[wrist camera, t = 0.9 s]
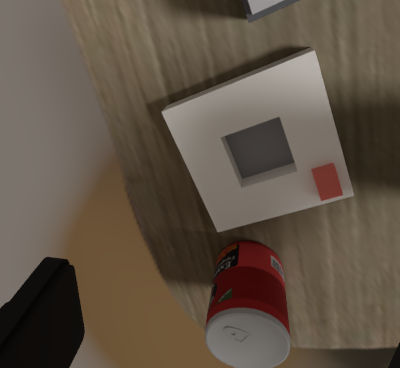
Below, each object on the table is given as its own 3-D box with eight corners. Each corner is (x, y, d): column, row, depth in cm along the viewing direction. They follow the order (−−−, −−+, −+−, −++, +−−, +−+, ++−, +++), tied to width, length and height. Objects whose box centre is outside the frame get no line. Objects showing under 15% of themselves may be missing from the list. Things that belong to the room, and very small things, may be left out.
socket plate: (310, 47, 30) (316, 51, 27) (348, 184, 35) (356, 201, 32) (167, 105, 34) (158, 114, 31) (219, 220, 39) (216, 237, 36)
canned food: (226, 230, 40) (215, 303, 30) (293, 250, 40) (304, 329, 30) (209, 278, 43) (195, 356, 34) (270, 296, 43) (274, 380, 34)
